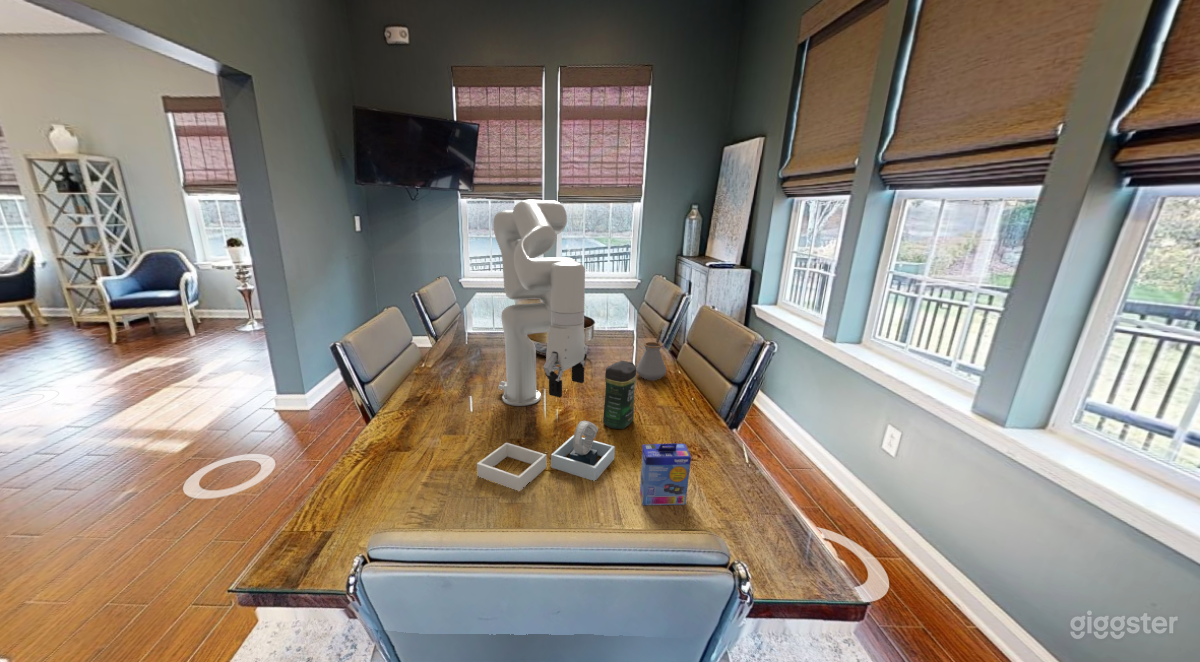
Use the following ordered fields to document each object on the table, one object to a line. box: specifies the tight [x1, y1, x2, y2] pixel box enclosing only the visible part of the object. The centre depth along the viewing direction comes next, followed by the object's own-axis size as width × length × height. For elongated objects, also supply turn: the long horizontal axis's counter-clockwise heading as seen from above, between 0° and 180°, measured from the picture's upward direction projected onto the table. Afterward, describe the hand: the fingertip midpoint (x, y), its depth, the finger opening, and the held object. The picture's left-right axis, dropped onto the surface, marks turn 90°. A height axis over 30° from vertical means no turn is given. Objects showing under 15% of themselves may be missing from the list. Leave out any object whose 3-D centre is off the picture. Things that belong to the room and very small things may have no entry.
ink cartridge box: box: [639, 442, 692, 506], centre depth 96 cm, size 10×6×14 cm, turn 95°
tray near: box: [476, 442, 548, 492], centre depth 106 cm, size 12×11×4 cm
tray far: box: [550, 434, 616, 482], centre depth 110 cm, size 12×11×4 cm
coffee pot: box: [636, 329, 667, 381], centre depth 171 cm, size 21×12×15 cm, turn 160°
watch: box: [569, 420, 599, 466], centre depth 109 cm, size 6×8×11 cm
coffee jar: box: [602, 360, 637, 430], centre depth 130 cm, size 10×8×19 cm
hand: (567, 388), depth 104 cm, fingers open, 9 cm apart
